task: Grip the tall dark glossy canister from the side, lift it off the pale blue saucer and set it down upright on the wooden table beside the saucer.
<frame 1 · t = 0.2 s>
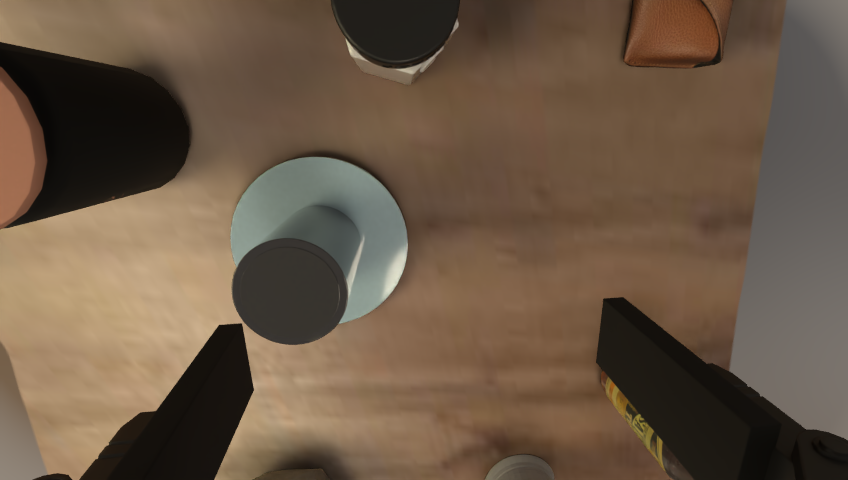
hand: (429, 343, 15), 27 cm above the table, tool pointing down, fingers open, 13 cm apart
coffee jar: (136, 131, 39), on the table
sauce bottle: (623, 373, 49), on the table
jar: (396, 34, 38), on the table
saucer: (322, 242, 42), on the table
dark glossy canister: (320, 245, 41), point 1 cm above the table, touching saucer
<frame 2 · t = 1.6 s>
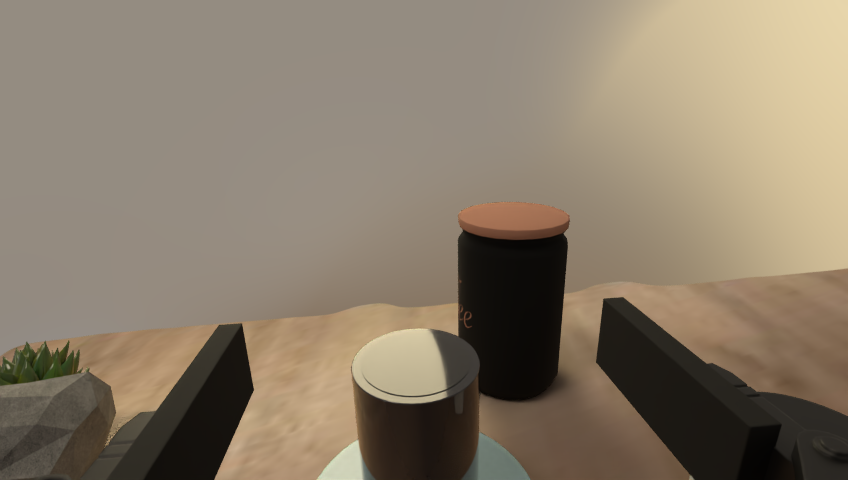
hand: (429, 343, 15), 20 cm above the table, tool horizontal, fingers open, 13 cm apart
coffee jar: (506, 373, 47), on the table
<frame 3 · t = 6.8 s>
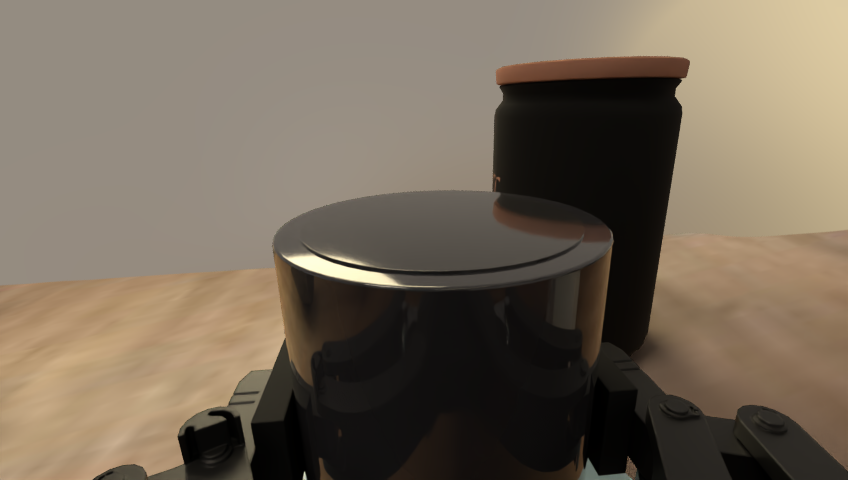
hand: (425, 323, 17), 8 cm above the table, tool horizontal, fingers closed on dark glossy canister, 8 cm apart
coffee jar: (562, 334, 31), on the table
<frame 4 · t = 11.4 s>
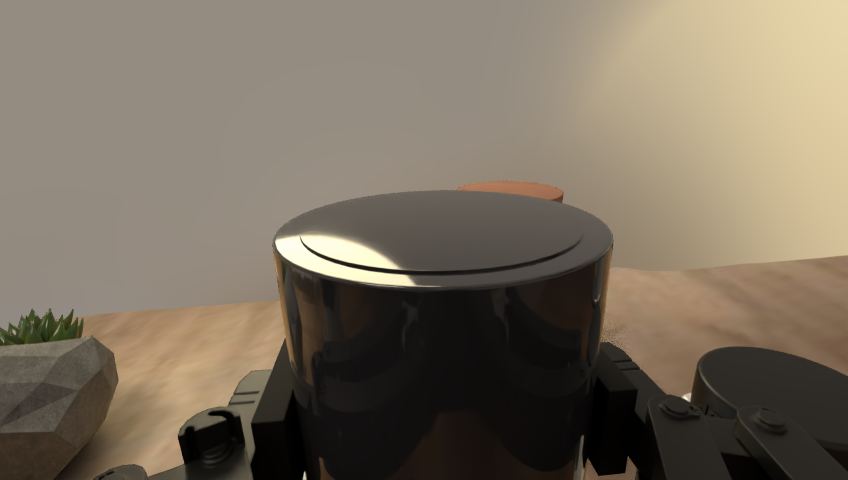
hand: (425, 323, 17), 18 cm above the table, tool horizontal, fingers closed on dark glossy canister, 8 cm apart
coffee jar: (502, 349, 48), on the table
potted plant: (32, 458, 34), on the table
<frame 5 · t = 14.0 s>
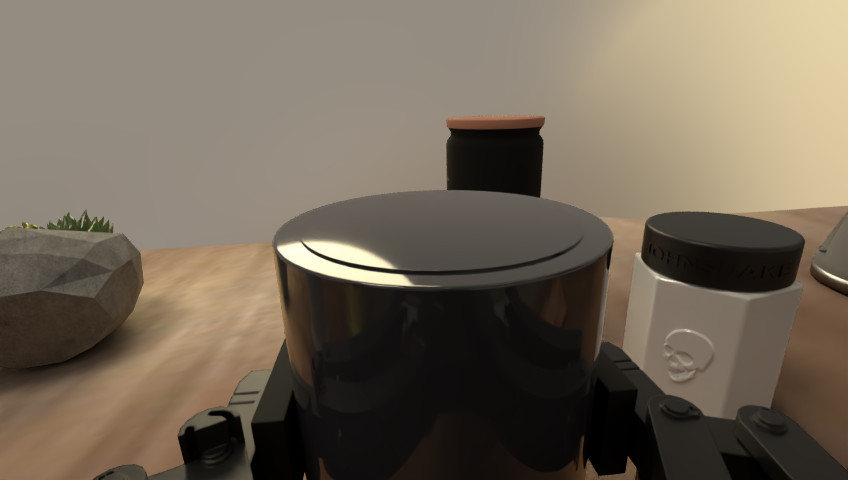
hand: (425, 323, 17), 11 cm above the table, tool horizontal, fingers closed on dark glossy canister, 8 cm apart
coffee jar: (490, 271, 52), on the table
jar: (686, 392, 30), on the table
potted plant: (70, 341, 39), on the table
when the fingers open (6 cm above the table, at t = 15.9 s): dark glossy canister stays where it is, on the table.
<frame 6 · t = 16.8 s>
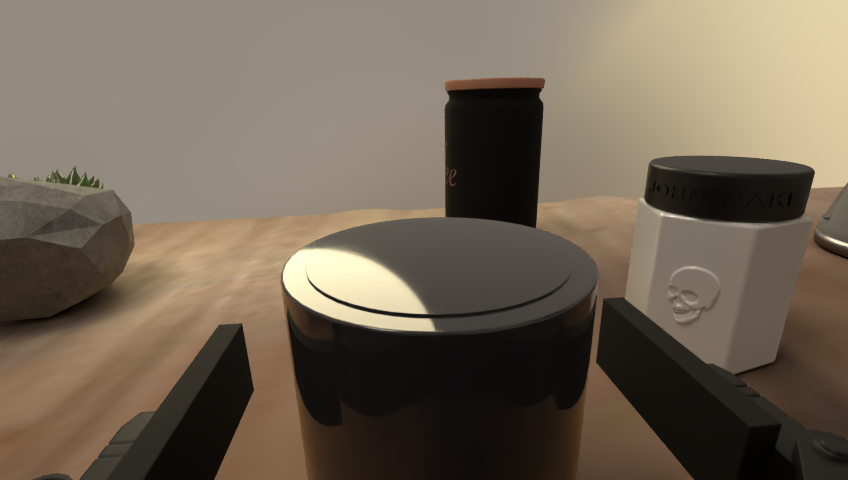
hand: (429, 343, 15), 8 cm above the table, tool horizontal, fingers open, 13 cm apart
coffee jar: (489, 241, 51), on the table
jar: (690, 342, 29), on the table
potted plant: (57, 300, 38), on the table
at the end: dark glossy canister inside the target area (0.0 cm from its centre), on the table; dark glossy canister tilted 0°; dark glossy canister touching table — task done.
